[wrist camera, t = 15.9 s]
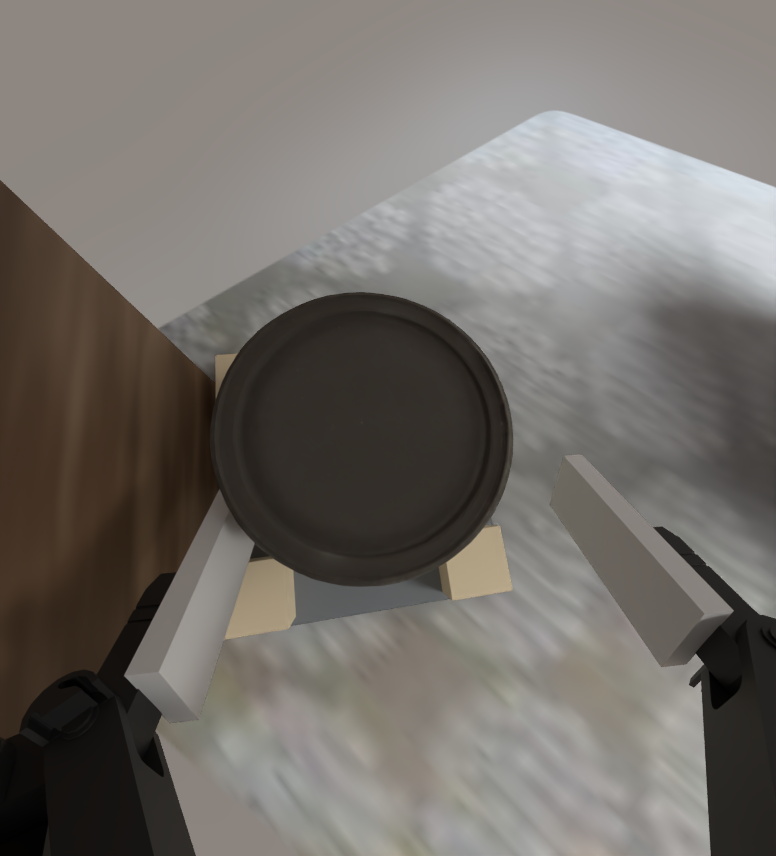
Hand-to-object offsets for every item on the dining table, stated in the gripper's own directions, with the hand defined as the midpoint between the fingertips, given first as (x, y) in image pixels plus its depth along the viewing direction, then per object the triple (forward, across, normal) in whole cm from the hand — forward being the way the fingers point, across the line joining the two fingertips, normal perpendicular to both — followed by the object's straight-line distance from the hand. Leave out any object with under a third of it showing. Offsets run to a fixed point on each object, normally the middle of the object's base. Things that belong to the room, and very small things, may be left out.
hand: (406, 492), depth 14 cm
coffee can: (+9, -2, -6) cm, 11 cm away
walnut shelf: (+9, -8, -7) cm, 14 cm away
